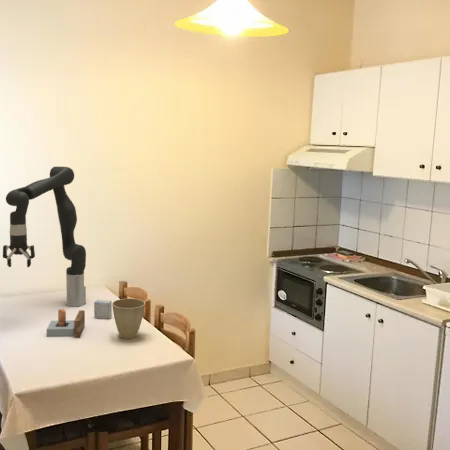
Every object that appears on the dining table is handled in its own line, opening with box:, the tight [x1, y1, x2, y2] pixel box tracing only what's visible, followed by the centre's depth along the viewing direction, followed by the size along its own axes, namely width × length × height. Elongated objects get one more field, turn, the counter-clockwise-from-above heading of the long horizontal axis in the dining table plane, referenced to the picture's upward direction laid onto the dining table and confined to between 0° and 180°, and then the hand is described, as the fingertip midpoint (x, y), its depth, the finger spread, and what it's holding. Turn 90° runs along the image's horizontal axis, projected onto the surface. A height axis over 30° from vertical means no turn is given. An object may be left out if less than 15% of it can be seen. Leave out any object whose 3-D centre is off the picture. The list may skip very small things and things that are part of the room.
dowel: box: [57, 308, 67, 327], centre depth 264 cm, size 3×3×10 cm
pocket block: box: [46, 319, 75, 338], centre depth 264 cm, size 12×12×4 cm
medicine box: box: [93, 299, 113, 320], centre depth 286 cm, size 8×4×9 cm, turn 84°
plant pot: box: [112, 297, 146, 340], centre depth 260 cm, size 15×15×16 cm
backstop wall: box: [73, 310, 86, 339], centre depth 265 cm, size 2×15×8 cm, turn 6°
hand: (19, 266), depth 270 cm, fingers open, 8 cm apart
